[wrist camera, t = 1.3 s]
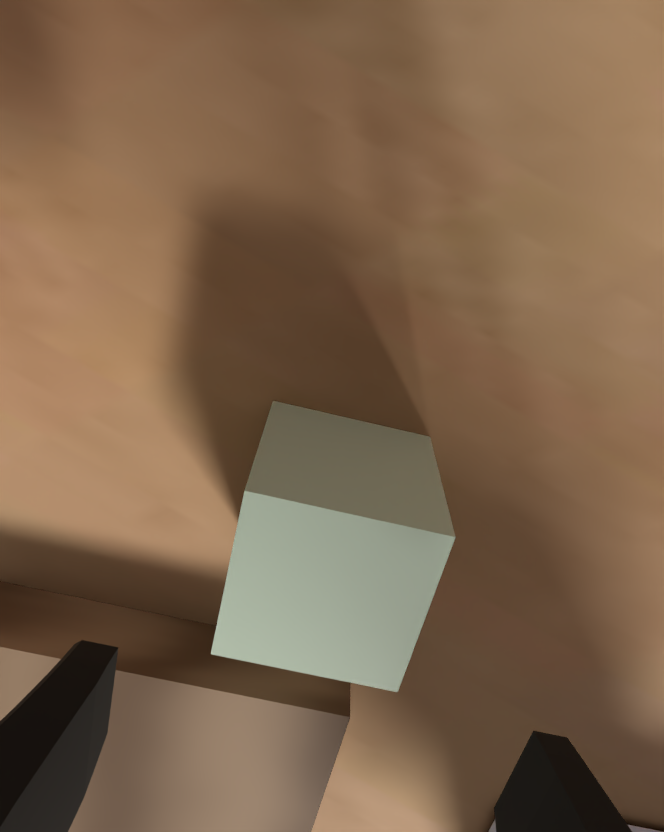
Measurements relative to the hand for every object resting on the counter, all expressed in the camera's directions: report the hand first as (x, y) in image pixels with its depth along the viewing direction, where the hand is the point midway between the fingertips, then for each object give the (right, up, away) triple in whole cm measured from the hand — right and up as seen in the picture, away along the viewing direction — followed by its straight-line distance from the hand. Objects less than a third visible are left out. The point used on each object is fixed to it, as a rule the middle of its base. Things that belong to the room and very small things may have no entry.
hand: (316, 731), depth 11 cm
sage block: (0, +3, +8) cm, 8 cm away
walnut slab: (-6, -6, +13) cm, 15 cm away
